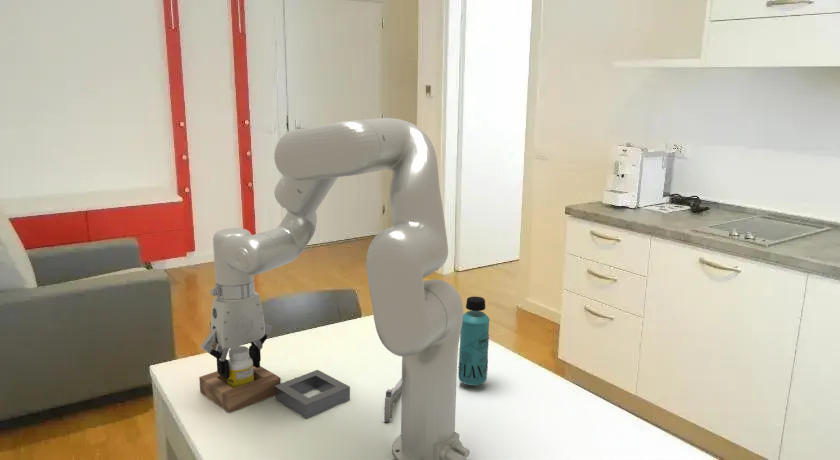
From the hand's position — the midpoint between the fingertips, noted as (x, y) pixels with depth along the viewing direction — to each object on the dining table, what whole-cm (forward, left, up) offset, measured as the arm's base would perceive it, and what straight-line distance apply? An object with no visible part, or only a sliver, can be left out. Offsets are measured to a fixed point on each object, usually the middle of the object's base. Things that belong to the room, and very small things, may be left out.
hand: (239, 370), depth 131 cm
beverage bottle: (-32, -38, -5) cm, 50 cm away
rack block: (0, 0, -5) cm, 5 cm away
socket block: (-13, -9, -5) cm, 17 cm away
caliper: (-25, -22, -6) cm, 34 cm away
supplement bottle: (0, 0, -5) cm, 5 cm away
